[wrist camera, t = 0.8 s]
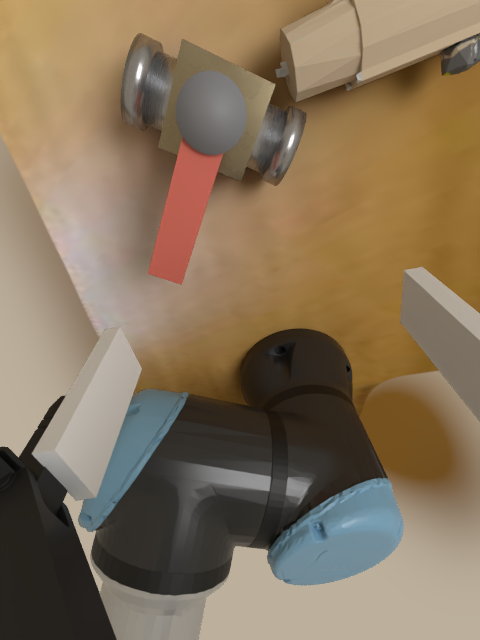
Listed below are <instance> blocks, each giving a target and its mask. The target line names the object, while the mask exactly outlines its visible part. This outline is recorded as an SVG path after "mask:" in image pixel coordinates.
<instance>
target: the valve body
mask: <svg viewBox="0 0 480 640" xmlns="http://www.w3.org/2000/svg"><path fill="white" fill-rule="evenodd" d="M203 71H216V72H220V73H222V74H224V75H226V76H228V77H229V78H230V79H231V80H232V81H233V82H234V83H235V84H236V85H237V86H238V88H239V89H240V91H241V93H242V95H243V98H244V101H245V105H246V113H247V116H246V125H245V129H244V132H243V134H242V136H241V138H240V140H239V141H238V142H237V144H236V145H235V146H234V147H232V148H231V149H230V150H228V151H227V152H224V153H223V156H222V159H221V162H220V165H219V168H218V172H219V173H221V174H224V175H226V176H228V177H231V178H233V179H236V180H238V181H241V180H242V178H243V175H244V172H245V169H246V167H247V168H250V169H252V170H255V171H257V172H259V173H261V177H260V178H261V180H262V181H265V182H267V183H270V184H272V185H274V186H277V185H278V184H279V183H280V182H281V180H282V179H283V177H284V175H285V173H286V172H287V170H288V168H289V166H290V164H291V162H292V159H293V157H294V155H295V152H296V150H297V147H298V145H299V142H300V139H301V136H302V133H303V130H304V126H305V122H306V112H304V111H302V110H299V109H297V108H295V107H293V106H291V105H289V106H288V107H287V108H286V110H285V111H284V110H282V109H280V108H278V107H276V106H274V105H272V104H270V103H269V102H270V99H271V96H272V93H273V91H274V88H275V85H276V84H274V83H272V82H270V81H268V80H266V79H263V78H261V77H259V76H257V75H255V74H253V73H251V72H249V71H247V70H245V69H243V68H241V67H239V66H237V65H235V64H233V63H231V62H229V61H227V60H225V59H223V58H221V57H219V56H217V55H215V54H213V53H211V52H208V51H206V50H204V49H202V48H200V47H198V46H196V45H194V44H192V43H190V42H188V41H186V40H184V39H182V42H181V46H180V51H179V55H178V60H177V59H175V58H173V57H171V56H169V55H167V54H164V53H163V46H162V44H161V43H160V42H158V41H156V40H154V39H152V38H150V37H148V36H146V35H144V34H142V33H139V34H138V35H137V36H136V37H135V38H134V40H133V42H132V45H131V47H130V50H129V53H128V56H127V60H126V64H125V69H124V75H123V81H122V91H121V112H122V118H123V120H124V122H125V123H126V124H129V125H131V126H133V127H136V128H138V129H141V130H143V131H144V130H146V129H147V128H148V126H151V127H153V128H155V129H158V130H160V131H162V132H161V136H160V141H159V145H158V148H160V149H163V150H165V151H168V152H170V153H172V154H175V155H177V156H178V152H179V148H180V144H181V140H182V134H181V132H180V130H179V128H178V124H177V120H176V102H177V98H178V94H179V92H180V90H181V88H182V86H183V85H184V84H185V82H186V81H187V80H188V79H189V78H190V77H192V76H193V75H195V74H197V73H199V72H203Z"/></svg>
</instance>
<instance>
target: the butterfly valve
mask: <svg viewBox="0 0 480 640" xmlns="http://www.w3.org/2000/svg"><path fill="white" fill-rule="evenodd" d="M440 53H441V54H440ZM280 54H281V59H282V62H280V66H281V68H280V69H275V72H276V76H277V78H280V77H285V78H286V83H287V86H288V89H289V92H290V95H291V97H292V98H293V100H294V101H295V102H298V101H301V100H303V99H306V98H309V97H311V96H314V95H316V94H319V93H322V92H324V91H327V90H330V89H332V88H335V87H338V86H340V85H343V84H345V83H346V84H345V88H346V91H349V90H352V89H354V88H357V87H359V86H362V85H364V84H366V83H369V82H371V81H374V80H376V79H379V78H381V77H384V76H386V75H389V74H391V73H393V72H396V71H398V70H401V69H403V68H406V67H408V66H411V65H413V64H416V63H418V62H421V61H423V60H425V59H428V58H430V57H433V56H435V55H438V54H440V57H441V71H442V75H453V74H458V73H461V72H464V71H466V70H468V69H469V68H471V67H472V66H473V65H475V64H476V63H478V62H479V61H480V0H331V1H330V2H329V3H328V4H327V5H326V6H324V7H322V8H320V9H318V10H316V11H314V12H312V13H311V14H309V15H307V16H305V17H303V18H301V19H299V20H297V21H295V22H293V23H291V24H289V25H287V26H285V27H283V28H281V30H280Z"/></svg>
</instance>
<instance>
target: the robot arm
mask: <svg viewBox="0 0 480 640" xmlns="http://www.w3.org/2000/svg"><path fill="white" fill-rule="evenodd" d="M400 322H401V324H402V325H403V326H404V327H405V329H406V330H407V331H408V332H409V334H410V335H411V336H412V337H413V339H414V340H415V341H416V342H417V344H418V345H419V346H420V347H421V349H422V350H423V351H424V352H425V354H426V355H427V356H428V357H429V359H430V360H431V361H432V362H433V364H434V365H435V366H436V367H437V369H438V370H439V371H440V372H441V374H442V375H443V376H444V377H445V379H446V380H447V381H448V382H449V384H450V385H451V386H452V387H453V389H454V390H455V391H456V392H457V394H458V395H459V396H460V397H461V399H462V400H463V401H464V402H465V404H466V405H467V406H468V407H469V409H470V410H471V411H472V412H473V414H474V415H475V416H476V417H477V419H478V420H479V421H480V314H479V313H478V312H477V311H476V310H475V309H473V308H472V307H471V306H470V305H468V304H467V303H466V302H465V301H463V300H462V299H461V298H460V297H459V296H457V295H456V294H455V293H454V292H452V291H451V290H450V289H449V288H448V287H446V286H445V285H444V284H443V283H441V282H440V281H439V280H438V279H437V278H435V277H434V276H433V275H432V274H430V273H429V272H428V271H427V270H425V269H424V268H423V267H419V268H414V269H409V270H404V277H403V291H402V305H401V319H400ZM141 370H142V368H141V366H140V364H139V362H138V360H137V358H136V356H135V355H134V353H133V351H132V349H131V347H130V345H129V343H128V341H127V339H126V337H125V335H124V333H123V331H122V329H121V327H115V328H110V329H105V330H104V332H103V334H102V335H101V337H100V339H99V340H98V342H97V344H96V346H95V347H94V349H93V351H92V352H91V354H90V356H89V358H88V359H87V361H86V363H85V364H84V366H83V368H82V369H81V371H80V373H79V374H78V376H77V378H76V380H75V381H74V383H73V385H72V386H71V388H70V390H69V391H68V393H67V395H66V396H61V397H60V398H59V399H58V400H57V401H56V402H55V403H54V404H53V405H52V406H51V407H50V408H49V410H48V411H47V413H46V415H45V416H44V418H43V419H44V420H42V421H41V423H40V424H39V426H38V429H37V430H36V431H35V433H34V434H33V436H32V437H31V439H30V440H29V442H28V444H27V446H26V447H25V448H24V450H23V452H22V453H21V455H20V456H19V458H18V457H17V456H16V455H15V454H14V453H13V452H12V451H11V450H10V449H9V448H8V447H0V640H198V639H199V634H200V629H201V623H202V618H203V612H204V607H205V602H206V597H207V596H209V595H210V594H212V593H213V592H214V591H216V590H217V589H219V588H220V587H221V586H222V585H223V584H224V583H225V582H226V580H227V578H228V575H229V571H230V567H231V561H232V555H233V550H234V547H235V546H242V547H250V548H260V549H266V550H268V556H267V559H268V563H269V564H270V567H271V569H272V572H273V574H274V575H275V577H277V578H278V579H279V580H283V581H284V582H286V583H288V584H293V585H316V584H323V583H329V582H334V581H338V580H341V579H345V578H348V577H350V576H353V575H356V574H358V573H361V572H363V571H365V570H367V569H369V568H371V567H373V566H375V565H376V564H378V563H379V562H381V561H383V560H384V559H385V558H386V557H388V556H389V555H390V554H391V553H392V552H393V551H394V550H395V549H396V547H397V546H398V544H399V543H400V541H401V538H402V535H403V520H402V516H401V513H400V511H399V508H398V505H397V503H396V500H395V497H394V495H393V492H392V485H391V483H390V481H389V480H388V477H387V476H386V473H385V471H384V469H383V467H382V465H381V463H380V460H379V458H378V456H377V454H376V452H375V450H374V448H373V446H372V444H371V441H370V439H369V438H368V435H367V433H366V431H365V429H364V427H363V424H362V422H361V420H360V418H359V416H358V414H357V412H356V409H355V407H354V405H353V395H352V369H351V365H350V362H349V360H348V358H347V356H346V354H345V352H344V350H343V349H342V347H341V346H340V345H339V344H338V343H337V342H336V341H335V340H334V339H333V338H331V337H330V336H328V335H326V334H324V333H321V332H318V331H314V330H309V329H291V330H285V331H281V332H278V333H275V334H272V335H270V336H268V337H266V338H264V339H263V340H261V341H260V342H259V343H257V344H256V345H255V346H254V347H253V348H252V349H251V350H250V351H249V353H248V354H247V355H246V357H245V359H244V361H243V364H242V367H241V389H242V393H243V396H244V399H245V401H246V402H247V404H248V405H249V406H246V405H241V404H236V403H231V402H226V401H221V400H216V399H211V398H206V397H201V396H196V395H191V394H189V393H188V392H182V393H178V392H171V391H165V390H158V389H145V390H142V391H140V392H138V393H137V394H135V395H134V396H133V393H134V390H135V387H136V384H137V381H138V379H139V376H140V373H141ZM132 396H133V397H132ZM67 492H68V493H69V494H70V495H71V496H72V497H73V498H74V499H75V500H83V499H84V501H83V505H82V510H81V513H80V515H79V518H78V522H79V525H80V526H81V527H83V528H86V529H87V531H88V532H93V531H94V530H96V535H95V539H94V542H93V546H92V550H91V555H90V557H91V563H92V566H93V568H94V569H95V571H96V573H97V574H98V575H99V577H100V578H101V579H102V581H103V584H102V588H101V591H100V593H99V591H98V588H97V585H96V583H95V580H94V578H93V575H92V572H91V570H90V567H89V564H88V561H87V559H86V556H85V553H84V551H83V548H82V545H81V543H80V540H79V537H78V535H77V532H76V529H75V526H74V524H73V521H72V518H71V516H70V513H69V511H68V508H67V506H66V505H65V504H64V503H63V500H64V498H65V496H66V493H67Z"/></svg>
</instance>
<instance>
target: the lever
mask: <svg viewBox="0 0 480 640" xmlns="http://www.w3.org/2000/svg"><path fill="white" fill-rule="evenodd" d="M246 116H247V113H246V105H245V101H244V98H243V95H242V93H241V91H240V89H239V88H238V86H237V85H236V84H235V83H234V82H233V81H232V80H231V79H230V78H229V77H228V76H226V75H224V74H222V73H220V72H216V71H203V72H199V73H197V74H195V75H193V76H192V77H190V78H189V79H188V80H187V81H186V82H185V84H184V85H183V86H182V88H181V90H180V92H179V94H178V98H177V102H176V120H177V124H178V128H179V130H180V132H181V134H182V140H181V144H180V148H179V152H178V156H177V160H176V164H175V168H174V172H173V176H172V180H171V184H170V188H169V192H168V196H167V200H166V204H165V208H164V211H163V215H162V219H161V223H160V227H159V231H158V235H157V239H156V243H155V247H154V251H153V255H152V259H151V263H150V267H149V271H148V274H150V275H153V276H157V277H160V278H163V279H166V280H169V281H172V282H175V283H178V284H181V285H182V282H183V279H184V276H185V272H186V269H187V266H188V263H189V260H190V257H191V254H192V250H193V247H194V244H195V241H196V238H197V235H198V231H199V228H200V225H201V222H202V219H203V216H204V213H205V209H206V206H207V203H208V200H209V197H210V194H211V190H212V187H213V184H214V181H215V178H216V175H217V172H218V168H219V165H220V162H221V159H222V156H223V153H224V152H227V151H228V150H230V149H231V148H232V147H234V146H235V145H236V144H237V142H238V141H239V140H240V138H241V136H242V134H243V132H244V129H245V125H246Z"/></svg>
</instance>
